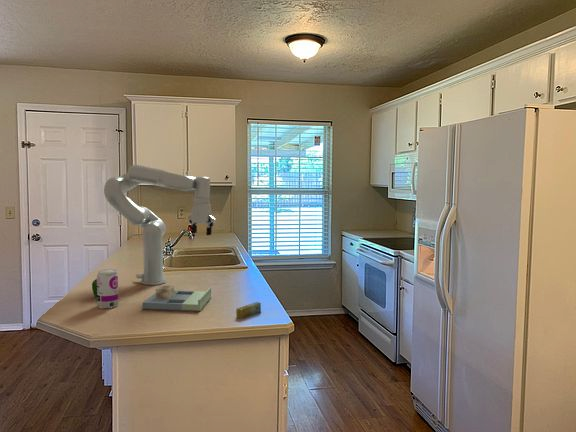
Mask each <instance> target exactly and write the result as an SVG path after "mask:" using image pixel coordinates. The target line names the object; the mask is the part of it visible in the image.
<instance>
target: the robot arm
mask: <svg viewBox="0 0 576 432" xmlns="http://www.w3.org/2000/svg"><path fill="white" fill-rule="evenodd" d="M140 184H147V185H152V186H157V187H161V188H169V189H174V190H179V191H183V192H189V191H194V198H193V201H194V202H193V203H192V208H191V214H190V215H188V216H187V217H188V221H189V223H190V226H191V234H197V231H198V225H197V224H205V225H206V226H207V227H206V233H205V234H206V236H212V232H213V231H212V228H213V227H214V225H215V223H216V221H217V219H216V218H215V217H214V216H212V215H213V214H212V205H211V203H210V202H211V201H210V199H211V198H210V197H211V179H210V177H207V176H191V175H184V174H178V173H172V172H168V171H166V170H164V169H161V168H156V167H150V166H145V165H143V164H141V165H140V164H133V165H131V166H130V167H129V168H128V170H127V172H126V173H124V174H123V175H121V176H112V177H110V178H108V179H107V180H106V182H105V184H104V187H103V193H104V197H105V200H106V201H107V202H108V203H109V205H111V206H112V207H113V208H114V209H115V210H116V211H117V212H118V213H119V214H120V215H122V217H124V218H125V219H126V220H127V221H128V222H129V223H130V224H131V225H133V226H138V227H139V226H140V227H141V228H142V231H141V236H142V246H143V249H142V250H143V273H137V274H136V275H135V276H136V277H135V278H136V279H141V280H140V284H141V285H145V286H157V285H162V284H165V283H166V282H167V279H166V278H164V253H163V252H164V246H163V245H164V244H163V236H164V235H165V234H166V232H167V225H166V224H165V222H164V221H163V220H162V219H160V218H159V217H158V216H157V215H156V214H155V213H154V212H152V210H150V209H149V207H148V208H147V207H145V206H142V205H140V206H139V205H138V204H136V203H135V202H134V201H132V199H131V198H130V197H128V196H127V195H125V193H127V192H129V191H131V190H132V189H134V188H136V187H137V186H139V185H140Z"/></svg>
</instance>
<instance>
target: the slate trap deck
mask: <svg viewBox="0 0 576 432" xmlns="http://www.w3.org/2000/svg"><path fill="white" fill-rule="evenodd" d="M211 299H212V287H208V289H207V290H206V291H200V290H198V291H196V290H195V291H193V290H174V295H173V296H172V297H171V298H170V299H165V298H156V292H155V293H153V294H152V295H151V296H149V297H148V298H147V299H145V300H144V301H143V302H142V310H144V311H165V312H167V311H170V312H190V313H191V312H193V313H194V312H195V313H196V312H197V313H200V312H202V310H203V309H204V308H205V307H206V305H207V304H208V303H209V302H210V300H211Z"/></svg>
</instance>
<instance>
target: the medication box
mask: <svg viewBox="0 0 576 432" xmlns="http://www.w3.org/2000/svg"><path fill="white" fill-rule="evenodd" d="M261 307H262V306H261V302H258V301H254V302H253V303H250V304H246V305H243V306H241V307H237V308H236V311H235V314H236V318H237V319H240V320H243V319H246V318H247V317H251V316H254V315H257V314H259V312H260V313H261V312H262V311H261V310H262V308H261Z"/></svg>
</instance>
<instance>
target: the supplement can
mask: <svg viewBox="0 0 576 432" xmlns="http://www.w3.org/2000/svg"><path fill="white" fill-rule="evenodd" d="M96 279H97V298H96V299H97V300H96V301H97V303H96V305H97V307H98V308H99V307H101V308H100V309H102V308H109V309H112V308H111V307H114V308H115V306H116V307H118V305H119V273H118V272H117V270H116V269H110V268H109V269H102V270H98V272H97V274H96Z"/></svg>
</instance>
